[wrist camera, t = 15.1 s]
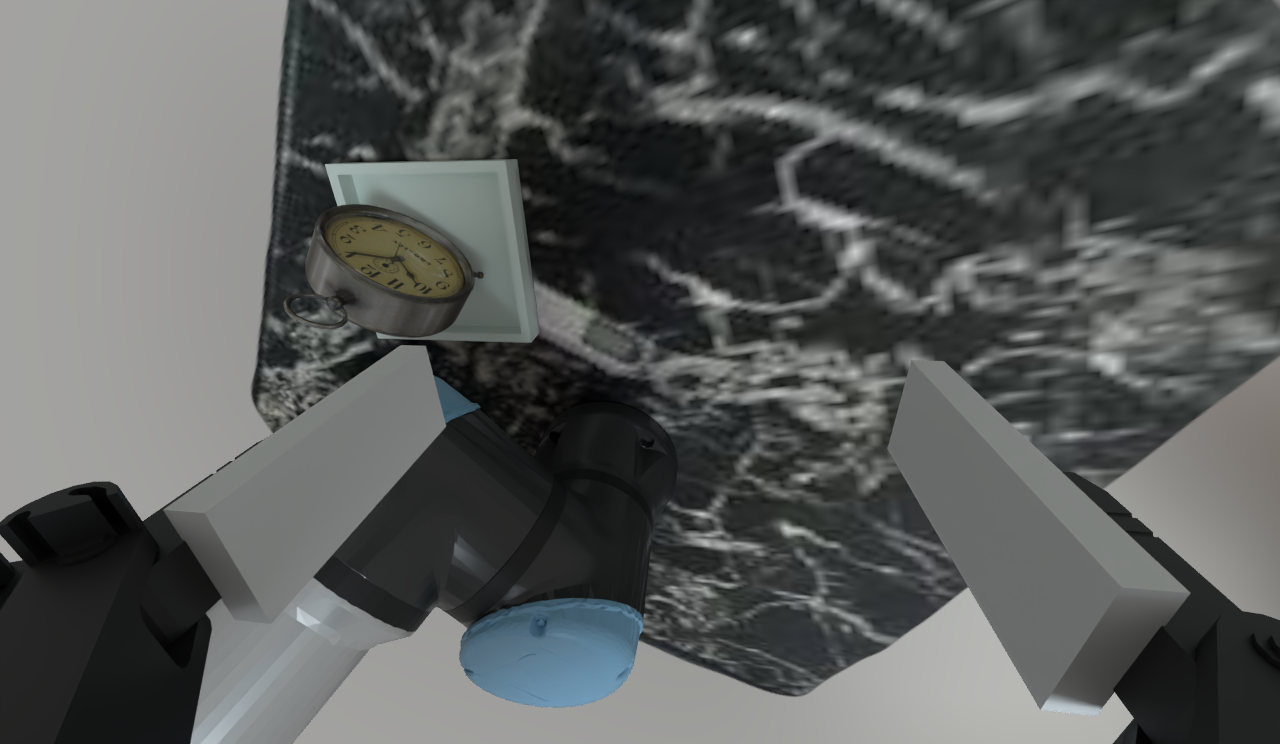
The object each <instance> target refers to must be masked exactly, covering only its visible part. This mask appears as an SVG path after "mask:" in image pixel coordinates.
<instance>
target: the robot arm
mask: <svg viewBox="0 0 1280 744" xmlns="http://www.w3.org/2000/svg"><path fill="white" fill-rule="evenodd" d="M480 408H481V407H480V406H479V405H478V404H477V403H471V402H470V401H469V400H468V399H466V398H465V397H464V396H462V395H461V394H460V393H459V392H457V391H456V390H455V389H453V388H452V387H451V386H450V385H448V384H447V383H446V382H444V381H443V380H442V379H440V378H438V377H436V376H433V372H432V368H431V364H430V361H429V357H428V353H427V349H426V346H413V345H400V346H399V347H398V348H396V349H395V350H393V351H392V352H390V353H389V354H387V355H386V356H385V357H383V358H382V359H380V360H379V361H377V362H376V363H374V364H373V365H371V366H370V367H369V368H367V369H366V370H364V371H363V372H361V373H360V374H358V375H357V376H356V377H354V378H353V379H351V380H350V381H348V382H347V383H345V384H344V385H343V386H341V387H340V388H338V389H337V390H335V391H334V392H332V393H331V394H330V395H328V396H327V397H325V398H324V399H322V400H321V401H319V402H318V403H317V404H315V405H314V406H312V407H311V408H309V409H308V410H306V411H305V412H304V413H302V414H301V415H299V416H298V417H296V418H295V419H293V420H292V421H291V422H289V423H288V424H286V425H285V426H283V427H282V428H280V429H279V430H278V431H276V432H275V433H273V434H272V435H270V436H269V437H267V438H266V439H264V440H262V441H260V442H258V443H256V444H255V445H253V446H252V447H250V448H249V449H247V450H246V451H244V452H243V453H241V454H240V455H239V456H237V457H236V458H235V460H234V461H230V462H228V463H227V464H225V465H224V466H222V467H221V468H220V469H218V470H217V473H215V474H211V475H209V476H208V477H206V478H205V479H204V480H202V481H201V482H199V483H198V484H196V485H195V486H193V487H192V488H191V489H189V490H188V491H186V492H185V493H183V494H182V495H180V496H179V497H177V498H176V499H174V500H173V501H172V502H170V503H169V504H167V505H166V506H164V507H163V508H161V509H160V510H159V511H157V512H156V513H154V514H153V515H151V516H150V517H148V518H147V519H146V520H144V521H142V520H141V519H140V517H139V516H138V514H137V513H136V512H135V510H134V509H133V507H132V506H131V504H130V503H129V502H128V500H127V498H125V496H124V494H123V493H122V491H121V490H120V488H119V487H118V486H117V485H116V484H114V483H111V482H91V483H86V484H81V485H76V486H72V487H69V488H66V489H63V490H60V491H57V492H54V493H51V494H49V495H47V496H44V497H42V498H40V499H38V500H35V501H33V502H31V503H29V504H27V505H25V506H23V507H22V508H20V509H18V510H17V511H15V512H13V513H12V514H10V515H8V516H7V517H6V518H5V519H3V520H2V521H1V522H0V535H1V536H2V537H3V538H4V539H5V540H6V541H7V543H8V544H9V545H10V546H11V547H12V548H13V549H14V550H15V552H16V553H17V554H18V555H19V556H20V557H21V558H22V559H23V560H22V561H16V562H10V563H9V561H8V560H7V559H6V558H5V557H4V556H3V555H2V554H1V553H0V744H293V742H294V741H295V740H296V739H297V737H298V736H299V735H300V734H301V733H302V731H303V730H304V729H305V728H306V726H307V725H308V724H309V723H310V722H311V720H312V719H313V718H314V717H315V716H316V714H317V713H318V712H319V711H320V709H321V708H322V707H323V706H324V704H325V703H326V702H327V701H328V699H329V698H330V697H331V696H332V695H333V694H334V692H335V691H336V690H337V689H338V687H339V686H340V685H341V684H342V682H343V681H344V680H345V679H346V678H347V677H348V675H349V674H350V673H351V672H352V670H353V669H354V668H355V667H356V665H357V664H358V663H359V662H360V661H361V659H362V658H363V657H364V656H365V654H366V653H367V652H368V651H369V649H371V648H372V647H374V646H376V645H378V644H382V643H386V642H390V641H394V640H398V639H401V638H405V637H409V636H411V635H412V634H413V633H414V632H415V631H416V630H417V629H418V628H419V626H420V625H421V624H422V622H423V621H424V620H425V619H426V617H427V616H428V615H429V614H430V612H431V611H432V610H433V609H434V608H435V607H438V608H440V609H442V610H443V611H445V612H446V613H448V614H449V615H451V616H452V617H453V618H455V619H456V620H458V621H459V622H460V623H462V624H463V625H464V626H465V627H467V631H466V632H465V633H464V634H463V636H462V640H461V650H460V658H459V659H460V663H461V666H462V667H463V668H464V671H465V673H466V675H467V677H468V678H469V679H470V680H471V681H472V682H473V683H475V684H476V685H477V686H479V687H480V688H482V689H483V690H485V691H487V692H489V693H491V694H493V695H495V696H498V697H500V698H503V699H506V700H509V701H512V702H516V703H520V704H524V705H531V706H538V707H572V706H578V705H584V704H588V703H592V702H595V701H597V700H600V699H602V698H604V697H606V696H608V695H610V694H611V693H613V692H614V691H615V690H617V689H618V688H619V687H620V686H621V685H622V684H623V683H624V682H625V681H626V679H627V678H628V676H629V674H630V672H631V670H632V667H633V664H634V660H635V655H636V650H637V645H638V640H639V635H640V634H641V632H642V629H643V622H644V621H643V616H644V606H645V597H646V588H647V579H648V569H649V560H650V551H651V541H652V532H653V527H654V525H655V523H656V522H657V520H658V519H659V517H660V515H661V514H662V512H663V510H664V509H665V507H666V505H667V504H668V502H669V500H670V499H671V497H672V494H673V492H674V488H675V485H676V476H677V456H676V452H675V449H674V446H673V444H672V442H671V440H670V438H669V436H668V435H667V434H666V432H665V431H664V430H663V429H662V428H661V427H660V425H659V424H657V423H656V422H655V421H654V420H653V419H651V418H650V417H649V416H647V415H646V414H644V413H642V412H640V411H638V410H636V409H634V408H631V407H629V406H626V405H622V404H618V403H612V402H589V403H584V404H580V405H577V406H574V407H571V408H569V409H567V410H565V411H564V412H562V413H561V414H559V415H558V416H557V417H556V418H555V419H554V420H553V421H552V422H551V423H550V424H549V426H548V427H547V429H546V431H545V433H544V434H543V436H542V438H541V440H540V442H539V445H538V447H537V451H536V456H535V458H534V457H533V456H532V455H531V454H529V453H528V452H527V451H526V450H525V449H524V448H523V447H522V446H520V445H519V444H518V443H517V442H516V441H515V440H514V439H512V438H511V437H510V436H509V435H508V434H507V433H506V432H504V431H503V430H502V429H501V428H500V427H499V426H498V425H496V424H495V423H494V422H493V421H492V420H491V419H490V418H488V417H487V416H486V415H485V414H484V413H483V412H482V411H481V410H479V409H480ZM888 451H889V453H890V454H891V456H892V458H893V459H894V461H895V463H896V464H897V466H898V468H899V470H900V471H901V473H902V475H903V476H904V478H905V480H906V482H907V483H908V485H909V487H910V488H911V490H912V492H913V493H914V495H915V497H916V499H917V500H918V502H919V504H920V505H921V507H922V509H923V510H924V512H925V514H926V516H927V517H928V519H929V521H930V522H931V524H932V526H933V528H934V529H935V531H936V533H937V534H938V536H939V538H940V539H941V541H942V543H943V545H944V546H945V548H946V550H947V551H948V553H949V555H950V557H951V558H952V560H953V562H954V563H955V565H956V567H957V568H958V570H959V572H960V574H961V575H962V577H963V579H964V580H965V582H966V584H967V585H968V587H969V589H970V591H971V592H972V594H973V596H974V597H975V599H976V601H977V603H978V604H979V606H980V608H981V609H982V611H983V613H984V614H985V616H986V618H987V620H988V621H989V623H990V625H991V626H992V628H993V630H994V631H995V633H996V635H997V637H998V638H999V640H1000V642H1001V643H1002V645H1003V647H1004V648H1005V650H1006V652H1007V654H1008V655H1009V657H1010V659H1011V660H1012V662H1013V664H1014V666H1015V667H1016V669H1017V671H1018V672H1019V674H1020V676H1021V677H1022V679H1023V681H1024V683H1025V684H1026V686H1027V688H1028V689H1029V691H1030V693H1031V695H1032V696H1033V698H1034V700H1035V701H1036V703H1037V705H1038V706H1039V708H1040V710H1047V711H1056V712H1065V713H1075V714H1083V715H1092V716H1096V715H1097V714H1098V713H1099V711H1100V710H1101V709H1102V708H1103V706H1104V705H1105V704H1106V702H1107V701H1108V700H1109V698H1110V697H1111V696H1112V695H1113V693H1114V692H1115V693H1116V694H1117V696H1118V697H1119V698H1120V700H1121V701H1122V703H1123V704H1124V705H1125V707H1126V708H1127V709H1128V711H1129V712H1130V713H1131V715H1132V716H1133V717H1134V719H1133V720H1132V721H1131V723H1130V724H1129V725H1128V726H1127V727H1126V729H1125V730H1124V731H1123V732H1122V733H1121V735H1120V736H1119V737H1118V738H1117V739H1116V740H1115V742H1114V743H1113V744H1280V620H1277V619H1274V618H1272V617H1269V616H1266V615H1263V614H1256V613H1250V612H1244V611H1241V610H1240V609H1239V608H1238V607H1237V606H1236V605H1235V604H1233V603H1232V602H1231V601H1230V600H1229V599H1227V597H1226V596H1224V595H1223V594H1222V593H1221V592H1220V591H1219V590H1218V589H1216V588H1215V587H1214V586H1213V585H1212V584H1211V583H1210V582H1208V581H1207V580H1206V579H1205V578H1204V577H1203V576H1202V575H1201V574H1200V573H1198V572H1197V571H1196V570H1195V569H1194V568H1193V567H1191V566H1190V565H1189V564H1188V563H1187V562H1186V561H1184V559H1182V558H1181V557H1180V556H1179V555H1178V554H1177V553H1176V552H1175V551H1173V550H1172V549H1171V548H1170V547H1169V546H1168V545H1167V544H1166V543H1164V542H1163V541H1162V540H1161V539H1160V538H1158V537H1154V536H1153V532H1152V531H1151V530H1150V529H1149V528H1147V527H1146V526H1145V525H1144V524H1143V523H1142V522H1140V521H1139V520H1138V519H1137V518H1132V514H1131V513H1130V512H1129V511H1128V510H1127V509H1126V508H1125V507H1123V506H1122V505H1121V504H1120V503H1119V502H1118V501H1117V500H1116V499H1115V498H1113V497H1112V496H1111V495H1110V494H1109V493H1108V492H1106V491H1105V490H1103V489H1101V488H1100V487H1098V486H1096V485H1094V484H1093V483H1091V482H1089V481H1088V480H1086V479H1084V478H1082V477H1081V476H1079V475H1077V474H1076V473H1072V472H1061V471H1060V470H1059V469H1058V468H1057V467H1056V466H1055V465H1054V464H1053V463H1052V462H1051V461H1050V460H1048V459H1047V458H1046V457H1045V456H1044V455H1043V454H1042V453H1041V452H1040V451H1039V450H1038V449H1037V448H1036V447H1035V446H1034V445H1032V444H1031V443H1030V442H1029V441H1028V440H1027V439H1026V438H1025V437H1024V436H1023V435H1022V434H1021V433H1020V432H1019V431H1018V430H1017V429H1015V428H1014V427H1013V426H1012V425H1011V424H1010V423H1009V422H1008V421H1007V420H1006V419H1005V418H1004V417H1003V416H1002V415H1001V414H999V413H998V412H997V411H996V410H995V409H994V408H993V407H992V406H991V405H990V404H989V403H988V402H987V401H986V400H985V399H983V398H982V397H981V396H980V395H979V394H978V393H977V392H976V391H975V390H974V389H973V388H972V387H971V386H970V385H969V384H967V383H966V382H965V381H964V380H963V379H962V378H961V377H960V376H959V375H958V374H957V373H956V372H955V371H954V370H953V369H952V368H950V367H949V366H948V365H947V364H946V363H945V362H944V361H915V360H911V364H910V368H909V371H908V375H907V379H906V383H905V386H904V390H903V394H902V397H901V401H900V405H899V408H898V412H897V416H896V420H895V423H894V427H893V431H892V434H891V438H890V442H889V445H888Z"/></svg>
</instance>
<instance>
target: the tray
mask: <svg viewBox="0 0 1280 744" xmlns="http://www.w3.org/2000/svg"><path fill="white" fill-rule="evenodd" d="M325 166H326V170H327V173H328V176H329V179H330V183H331V186H332V189H333V193H334V196H335V199H336V202H337V206H341V205H348V204H362V205H372V206H377V207H381V208H385V209H389V210H392V211H395V212H398V213H401V214H404V215H407V216H409V217H411V218H413V219H415V220H418V221H420V222H422V223H424V224H426V225H428V226H429V227H431V228H433V229H434V230H436V231H437V232H439V233H440V234H442V235H443V236H445V237H446V238H447V239H448V240H450V241H451V242H452V243H453V244H454V245H455V246H456V247H457V248H458V249H459V250H460V251H461V252H462V253H463V254H464V256H465V257H466V258H467V260H468V261H469V263H470V265H471V267H472V270H473V271H474V272H476V273H478V272H483V274H484V276H483V278H482V279H478V278H477V277H475V283H474V287H473V290H472V291H471V293H470V295H469V297H468V299H467V300H466V302H465V304H464V306H463V308H462V310H461V312H460V314H459V316H458V317H457V319H456V321H455V322H454V323H453V324H452V325H451V326H450V327H449V328H447V329H446V330H444V331H442V332H440V333H437V334H435V335H431V336H426V337H418V338H405V337H395V336H389V335H385V334H381V333H377V332H376V334H377V337H378V338H380V339H416V340H451V341H487V342H522V343H531V342H532V341H533V340H534V339H535V338H536V336H537V335H538V334H539V333H540V330H539V323H538V315H537V307H536V300H535V292H534V284H533V277H532V269H531V262H530V254H529V246H528V239H527V231H526V223H525V216H524V208H523V201H522V193H521V185H520V178H519V170H518V163H517V159H494V160H447V161H400V162H353V163H335V164H325Z"/></svg>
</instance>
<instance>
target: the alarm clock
mask: <svg viewBox="0 0 1280 744" xmlns="http://www.w3.org/2000/svg"><path fill="white" fill-rule="evenodd" d="M305 271H306V276H307V279H308V281H309V283H310V285H311V287H312V289H313V290H314V292H315V293H316V294H314V293H298V294H292V295H290V296H288V297H287V298H286V299H285V300H284V309H285V311H286V312H287V314H288V315H289V316H290V317H292V318H293V319H295V320H296V321H298V322H300V323H302V324H305V325H308V326H311V327H315V328H320V329H335V328H339V327H342V326H343V325H344V324H345V323H346V322H347V320H348V321H350V322H352V323H354V324H356V325H358V326H360V327H363V328H365V329H368V330H371V331H374V332H377V333H381V334H385V335H389V336H395V337H405V338H418V337H426V336H431V335H435V334H437V333H440V332H442V331H444V330H446V329H447V328H449V327H450V326H451V325H452V324H453V323H454V322H455V321H456V319H457V317H458V316H459V314H460V312H461V310H462V308H463V306H464V304H465V302H466V300H467V299H468V297H469V295H470V293H471V291H472V290H473V287H474V283H475V277H477V278H478V279H482V278H483V276H484V274H483V272H478V273H476V272H474V271H473V270H472V267H471V265H470V263H469V261H468V260H467V258H466V257H465V256H464V254H463V253H462V252H461V251H460V250H459V249H458V248H457V247H456V246H455V245H454V244H453V243H452V242H451V241H450V240H448V239H447V238H446V237H445V236H443V235H442V234H440V233H439V232H437V231H436V230H434V229H433V228H431V227H429V226H428V225H426V224H424V223H422V222H420V221H418V220H415V219H413V218H411V217H409V216H407V215H404V214H401V213H398V212H395V211H392V210H389V209H385V208H381V207H377V206H372V205H362V204H348V205H341V206H336V207H333V208H330V209H328V210H326V211H324V212H323V213H322V214H321V215H320V216H319V217H318V219H317V221H316V224H315V230H314V234H313V238H312V241H311V245H310V248H309V252H308V255H307V259H306V263H305ZM301 297H313V298H317V299H321V300H322V301H323V302H324V303H325V304H326V305H327V306H328V307H329V308H330V309H332V310H333V311H334V312H336V313H337V314H338V315H340V316H342V317H343V320H342V321H341V322H339V323H335V324H321V323H315V322H311V321H309V320H306V319H304V318H302V317H299V316H298V315H296V314H295V313H294V312H293V311H292V309H291V307H290V303H291V302H292V300H294V299H296V298H301Z"/></svg>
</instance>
